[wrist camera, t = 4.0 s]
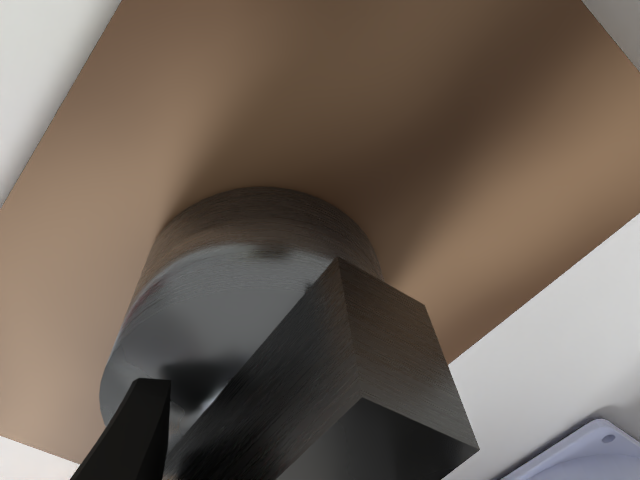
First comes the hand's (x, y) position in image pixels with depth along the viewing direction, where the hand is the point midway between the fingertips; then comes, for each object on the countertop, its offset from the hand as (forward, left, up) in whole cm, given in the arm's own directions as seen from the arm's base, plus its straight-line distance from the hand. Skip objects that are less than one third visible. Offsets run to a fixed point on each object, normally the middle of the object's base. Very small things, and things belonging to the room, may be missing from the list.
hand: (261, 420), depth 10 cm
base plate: (0, 0, -6) cm, 6 cm away
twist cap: (0, 0, -4) cm, 4 cm away
